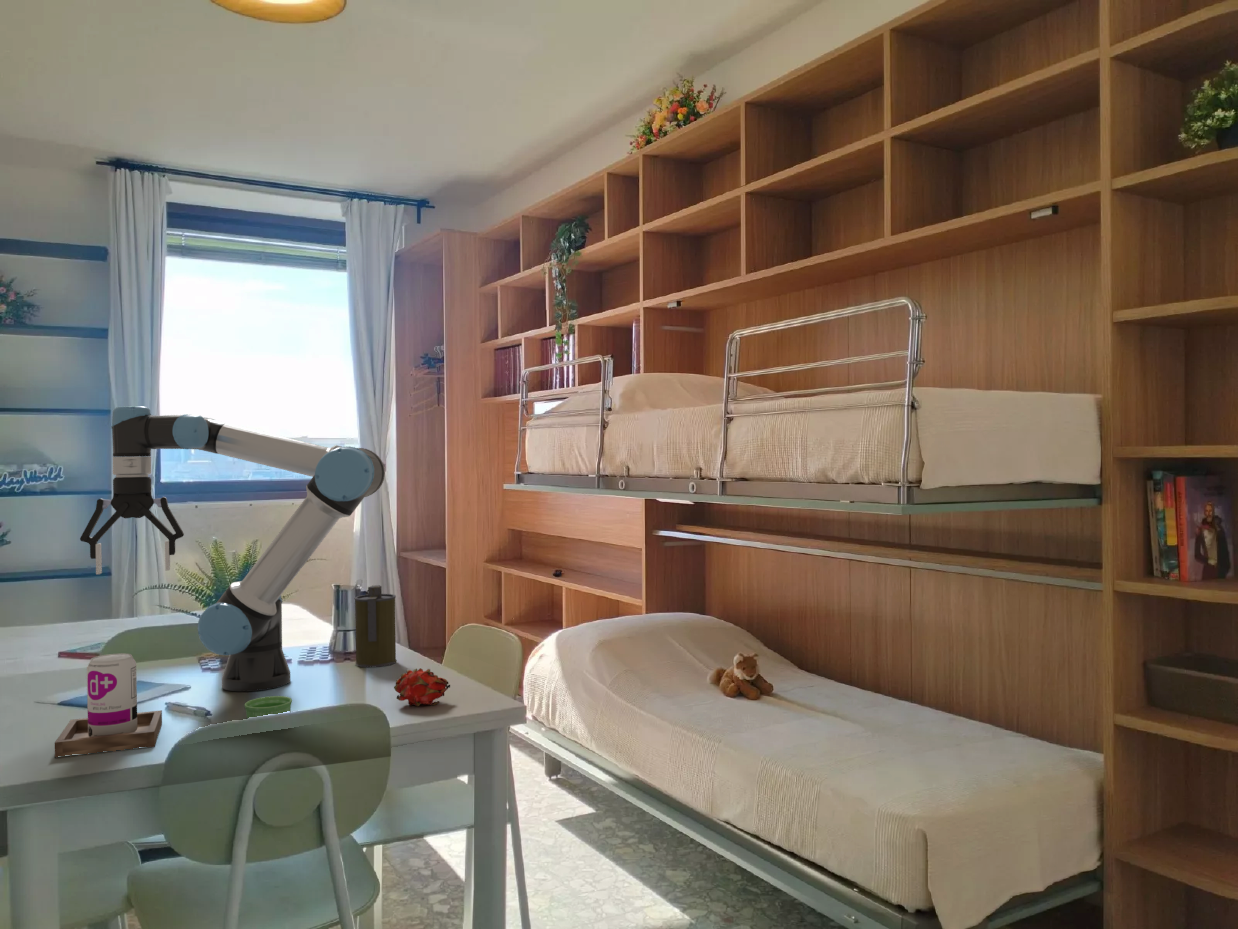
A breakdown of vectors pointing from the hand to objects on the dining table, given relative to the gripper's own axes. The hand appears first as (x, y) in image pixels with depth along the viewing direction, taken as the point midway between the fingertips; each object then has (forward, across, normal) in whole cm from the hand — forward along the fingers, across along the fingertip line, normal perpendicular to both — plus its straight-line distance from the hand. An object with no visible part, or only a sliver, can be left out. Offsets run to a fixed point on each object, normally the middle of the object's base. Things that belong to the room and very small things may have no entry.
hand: (133, 571), depth 204 cm
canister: (+29, +54, +16) cm, 63 cm away
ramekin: (+29, +27, -31) cm, 50 cm away
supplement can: (+28, -1, -31) cm, 42 cm away
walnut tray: (+29, -1, -31) cm, 42 cm away
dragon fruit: (+29, +58, -30) cm, 71 cm away
